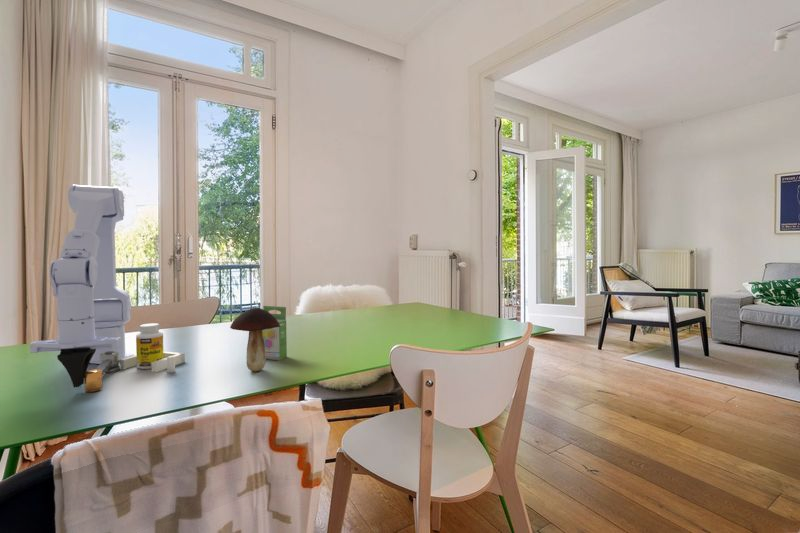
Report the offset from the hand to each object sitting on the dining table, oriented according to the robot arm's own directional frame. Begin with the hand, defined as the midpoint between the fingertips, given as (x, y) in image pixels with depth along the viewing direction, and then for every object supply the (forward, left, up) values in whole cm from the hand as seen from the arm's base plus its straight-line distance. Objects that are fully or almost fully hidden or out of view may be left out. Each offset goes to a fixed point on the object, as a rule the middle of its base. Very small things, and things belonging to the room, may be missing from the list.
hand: (78, 385), depth 79 cm
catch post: (+7, +15, -1) cm, 17 cm away
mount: (-7, +12, -1) cm, 14 cm away
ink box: (+23, +32, -2) cm, 40 cm away
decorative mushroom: (+26, +21, -2) cm, 34 cm away
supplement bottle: (-1, +17, -2) cm, 18 cm away
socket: (-1, +17, -1) cm, 18 cm away
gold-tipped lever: (-3, +7, -1) cm, 7 cm away
